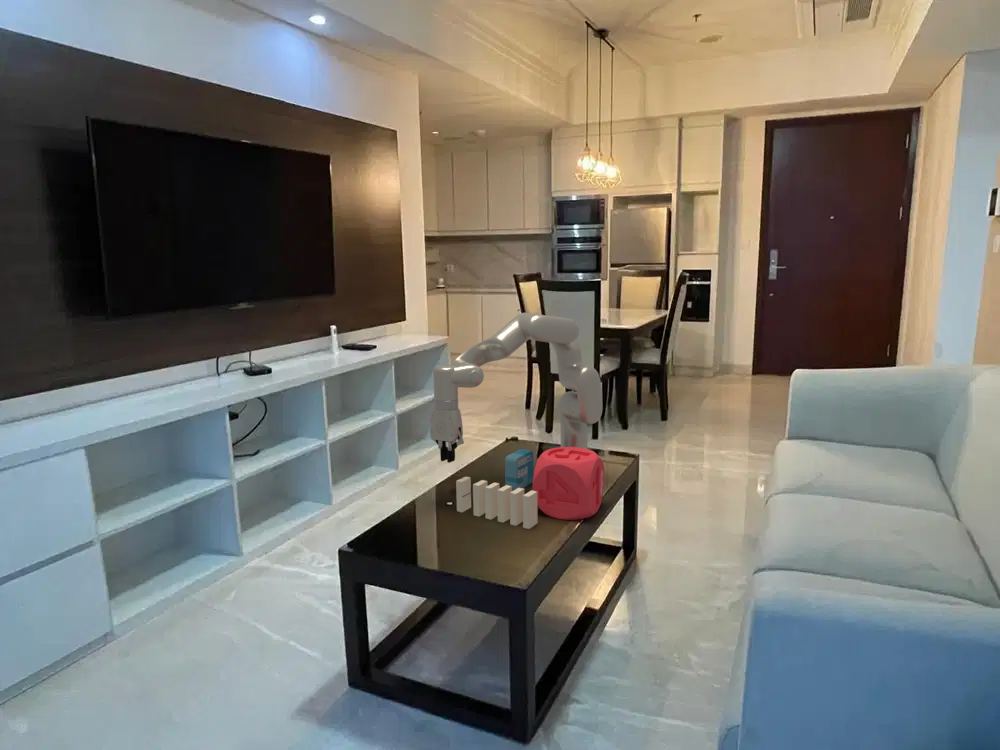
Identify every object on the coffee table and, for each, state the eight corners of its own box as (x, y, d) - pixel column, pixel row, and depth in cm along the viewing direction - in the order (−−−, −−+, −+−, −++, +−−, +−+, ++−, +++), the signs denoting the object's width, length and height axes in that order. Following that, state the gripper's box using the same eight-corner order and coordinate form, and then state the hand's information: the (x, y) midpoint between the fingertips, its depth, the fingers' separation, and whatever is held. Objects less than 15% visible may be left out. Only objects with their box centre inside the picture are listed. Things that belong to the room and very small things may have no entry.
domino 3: (485, 518, 204) (484, 487, 202) (494, 512, 208) (494, 482, 206) (490, 519, 203) (490, 488, 201) (499, 514, 207) (499, 483, 205)
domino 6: (523, 527, 197) (522, 495, 195) (531, 521, 201) (531, 490, 199) (528, 529, 195) (528, 496, 194) (537, 523, 200) (537, 491, 198)
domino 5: (510, 524, 199) (509, 492, 197) (519, 518, 203) (518, 487, 201) (515, 525, 198) (515, 493, 196) (524, 520, 202) (524, 488, 200)
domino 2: (473, 515, 206) (472, 484, 205) (482, 510, 210) (482, 479, 209) (478, 516, 205) (478, 485, 203) (488, 511, 209) (487, 481, 208)
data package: (516, 492, 225) (516, 458, 223) (505, 490, 228) (504, 456, 226) (533, 482, 235) (533, 449, 233) (522, 480, 238) (522, 447, 236)
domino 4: (497, 521, 201) (497, 489, 200) (506, 515, 206) (506, 485, 204) (503, 522, 200) (502, 491, 199) (512, 517, 204) (511, 486, 203)
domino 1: (456, 511, 210) (455, 480, 208) (466, 506, 214) (465, 476, 212) (462, 512, 209) (461, 482, 207) (471, 507, 213) (470, 477, 211)
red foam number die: (587, 524, 198) (588, 466, 195) (532, 515, 206) (531, 459, 203) (604, 503, 214) (605, 450, 211) (552, 495, 222) (552, 444, 219)
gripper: (419, 404, 210) (421, 460, 213) (459, 409, 201) (460, 468, 205) (434, 399, 216) (435, 454, 219) (473, 405, 207) (475, 461, 211)
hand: (447, 460), depth 212 cm, fingers closed
